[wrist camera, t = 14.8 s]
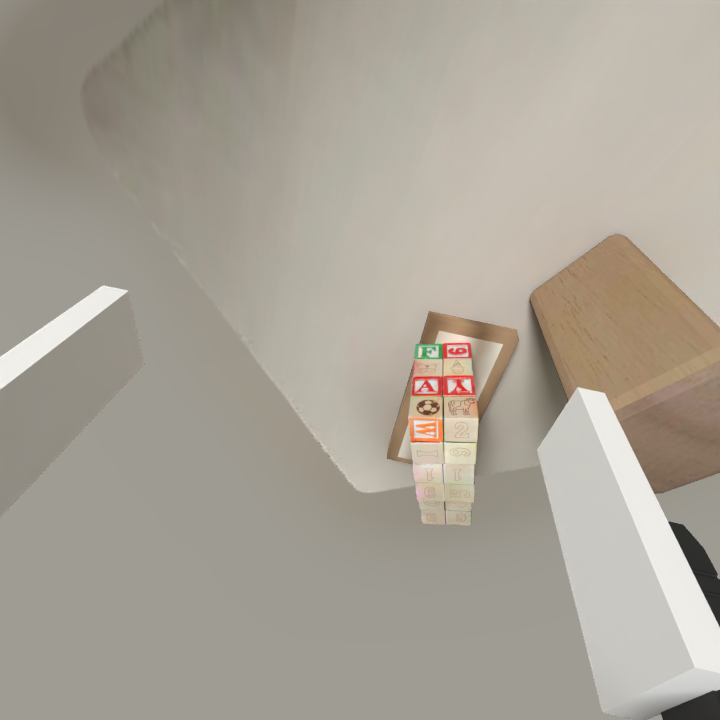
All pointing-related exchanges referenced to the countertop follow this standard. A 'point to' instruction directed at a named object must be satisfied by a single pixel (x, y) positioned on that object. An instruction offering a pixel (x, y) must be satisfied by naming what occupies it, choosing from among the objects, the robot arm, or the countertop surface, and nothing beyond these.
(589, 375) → the block
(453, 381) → the stack of blocks
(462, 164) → the countertop surface
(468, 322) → the picture frame
